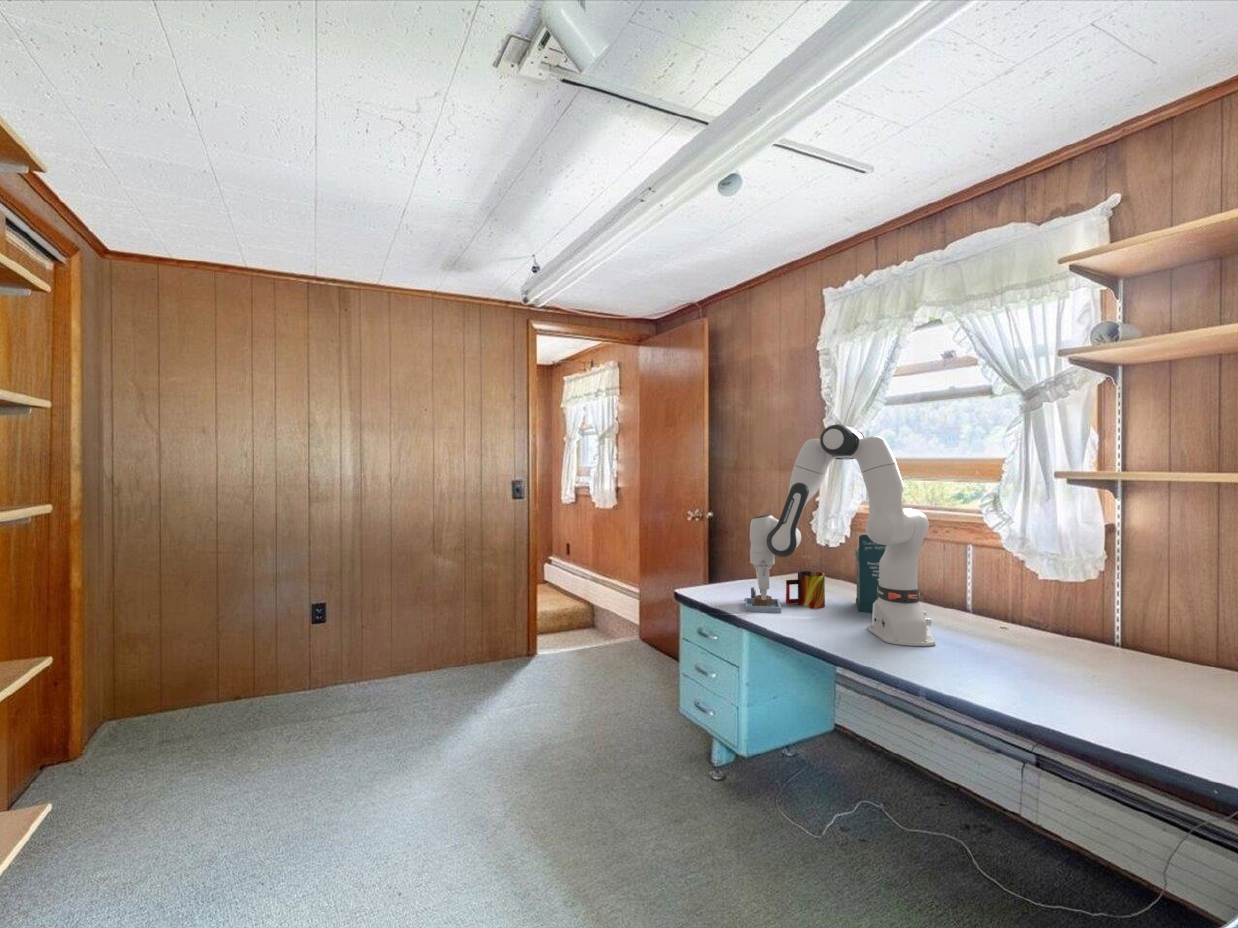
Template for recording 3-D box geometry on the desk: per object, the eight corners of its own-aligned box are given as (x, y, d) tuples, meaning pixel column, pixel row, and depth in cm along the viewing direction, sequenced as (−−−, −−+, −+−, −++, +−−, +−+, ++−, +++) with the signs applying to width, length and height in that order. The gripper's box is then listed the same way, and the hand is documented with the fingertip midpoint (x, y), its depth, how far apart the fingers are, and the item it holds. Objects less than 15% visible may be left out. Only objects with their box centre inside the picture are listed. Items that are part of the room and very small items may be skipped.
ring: (772, 610, 210) (771, 599, 209) (752, 609, 211) (752, 598, 211) (770, 605, 215) (770, 595, 215) (751, 605, 217) (751, 594, 217)
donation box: (859, 612, 208) (858, 534, 207) (854, 601, 223) (854, 528, 223) (908, 615, 203) (908, 535, 203) (900, 604, 218) (900, 530, 218)
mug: (785, 606, 217) (785, 574, 217) (808, 600, 225) (808, 569, 225) (807, 612, 209) (806, 578, 209) (830, 605, 217) (829, 573, 217)
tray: (781, 614, 206) (781, 607, 206) (745, 613, 208) (745, 606, 208) (778, 605, 218) (778, 598, 218) (745, 604, 220) (745, 597, 220)
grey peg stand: (763, 604, 220) (763, 590, 220) (744, 603, 221) (744, 589, 221) (762, 599, 227) (762, 586, 227) (744, 599, 228) (743, 585, 228)
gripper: (773, 564, 202) (773, 603, 202) (769, 554, 222) (770, 590, 222) (754, 563, 203) (755, 603, 203) (752, 554, 223) (753, 589, 223)
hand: (763, 596), depth 213 cm, fingers open, 8 cm apart
